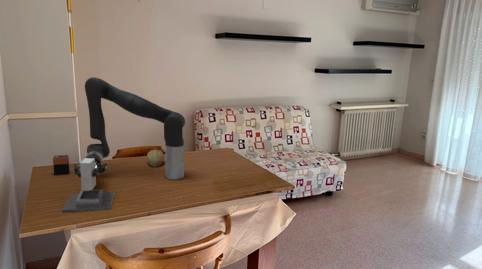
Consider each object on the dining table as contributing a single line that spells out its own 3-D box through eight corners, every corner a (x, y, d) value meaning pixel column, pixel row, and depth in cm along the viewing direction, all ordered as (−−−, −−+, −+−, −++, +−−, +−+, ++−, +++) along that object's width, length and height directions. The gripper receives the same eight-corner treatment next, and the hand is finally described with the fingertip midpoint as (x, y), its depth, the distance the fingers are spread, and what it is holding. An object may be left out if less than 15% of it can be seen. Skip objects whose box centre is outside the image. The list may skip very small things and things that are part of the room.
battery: (69, 174, 176) (67, 155, 174) (54, 175, 173) (52, 156, 171) (69, 171, 180) (68, 153, 178) (55, 172, 177) (53, 153, 175)
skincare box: (85, 184, 147) (84, 157, 144) (96, 184, 148) (95, 158, 145) (81, 190, 141) (79, 162, 138) (91, 190, 142) (90, 163, 139)
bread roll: (162, 159, 207) (162, 146, 205) (165, 167, 194) (165, 153, 192) (146, 160, 204) (145, 147, 202) (147, 168, 190) (147, 154, 189)
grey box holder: (114, 193, 156) (114, 186, 155) (110, 209, 141) (110, 201, 140) (70, 195, 151) (70, 188, 150) (62, 212, 136) (61, 204, 135)
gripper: (75, 153, 153) (66, 166, 137) (109, 153, 157) (105, 165, 141) (76, 169, 155) (68, 184, 139) (110, 168, 159) (105, 182, 143)
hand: (86, 175), depth 140 cm, fingers closed on skincare box, 4 cm apart
